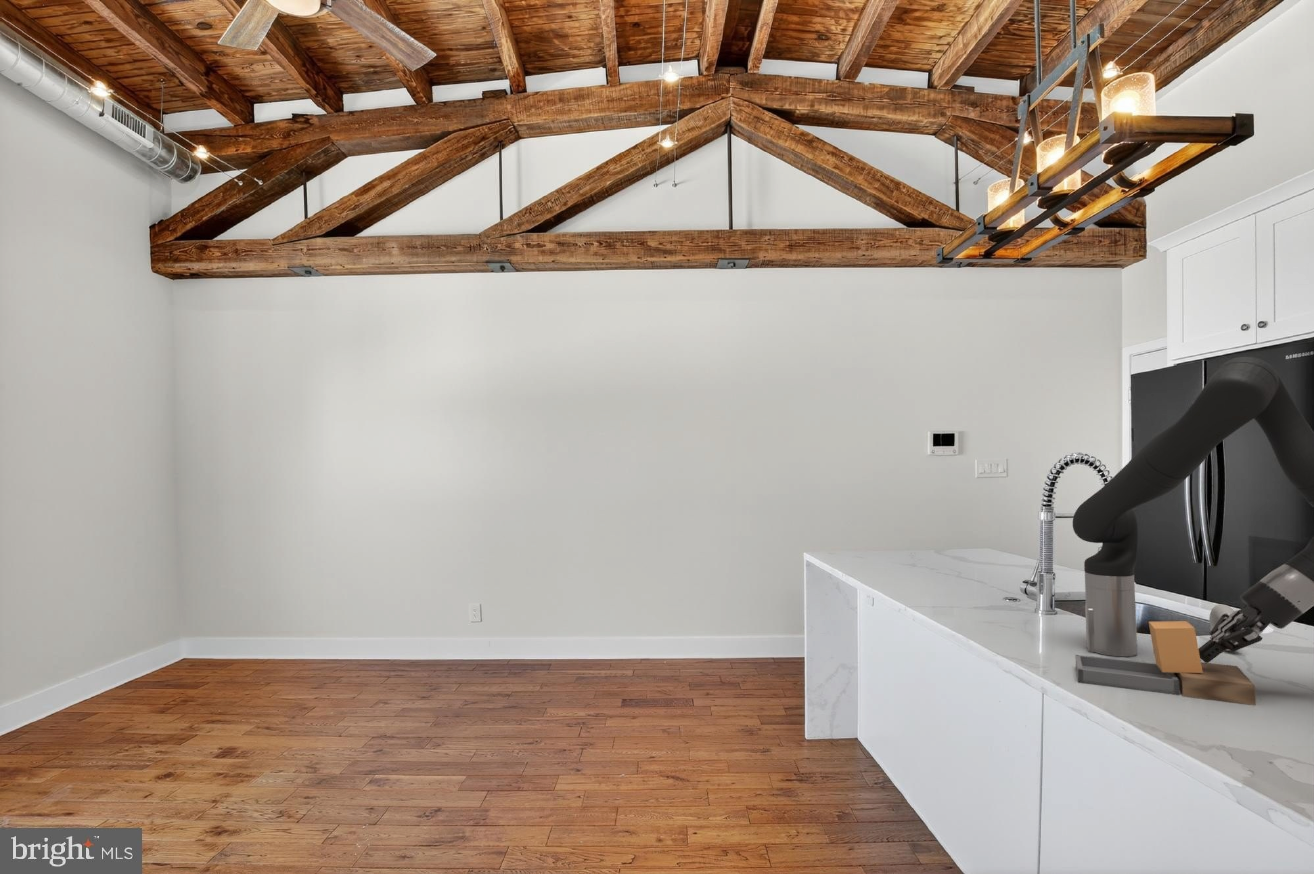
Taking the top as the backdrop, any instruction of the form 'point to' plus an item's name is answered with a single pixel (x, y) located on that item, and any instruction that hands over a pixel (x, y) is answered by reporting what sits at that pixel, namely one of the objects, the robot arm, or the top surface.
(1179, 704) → the top surface
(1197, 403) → the robot arm
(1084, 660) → the tray
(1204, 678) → the walnut board
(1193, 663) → the orange block
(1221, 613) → the donut
